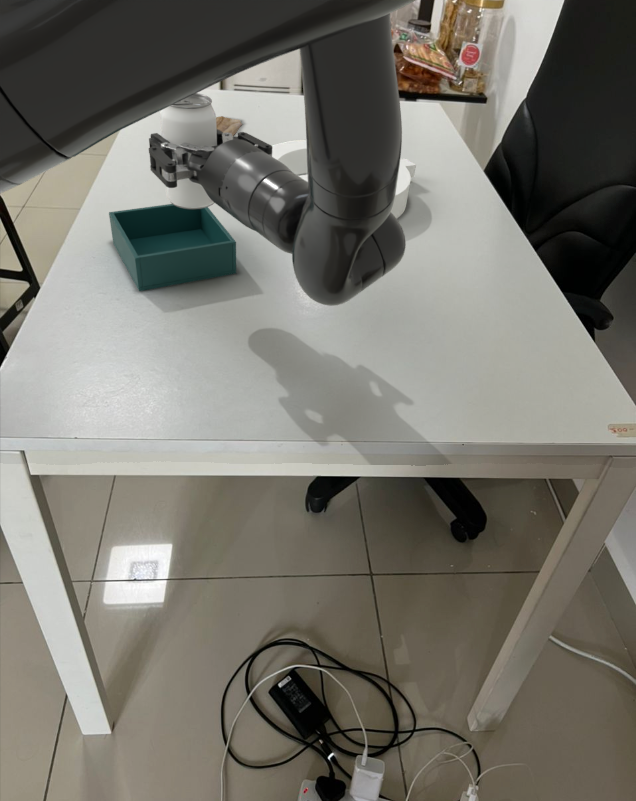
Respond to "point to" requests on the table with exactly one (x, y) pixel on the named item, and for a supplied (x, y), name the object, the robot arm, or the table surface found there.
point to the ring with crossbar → (296, 161)
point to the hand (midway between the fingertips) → (180, 137)
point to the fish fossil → (227, 125)
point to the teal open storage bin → (172, 245)
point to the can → (195, 127)
